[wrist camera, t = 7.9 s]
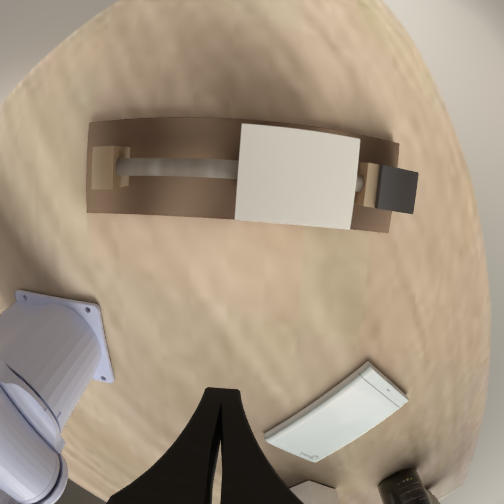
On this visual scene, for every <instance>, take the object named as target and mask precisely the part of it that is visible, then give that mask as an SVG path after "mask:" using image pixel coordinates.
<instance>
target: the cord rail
mask: <svg viewBox="0 0 504 504" xmlns="http://www.w3.org/2000/svg"><path fill="white" fill-rule="evenodd" d="M242 124H254V125H266V126H276V127H286V128H294V129H302V130H310V131H317V132H323V133H330V134H336V135H342V136H347V137H353V138H358V139H360V149H359V160H358V170H357V180H356V189H355V197H354V205H353V212H352V219H351V226H350V229H354V230H364V231H374V232H383V233H388V232H389V226H390V220H391V214H392V211H396V212H402V213H409V214H413V211H414V204H415V197H416V189H417V181H418V172H413V171H409V170H404V169H400V168H397V166H398V155H399V143H395V142H391V141H386V140H382V139H378V138H373V137H368V136H364V135H359V134H353V133H348V132H343V131H337V130H331V129H325V128H318V127H312V126H304V125H297V124H289V123H280V122H270V121H259V120H245V119H229V118H198V117H170V118H140V119H124V120H111V121H101V122H91V123H89V133H88V149H87V181H86V194H87V213H115V214H142V215H164V216H184V217H202V218H219V219H234V220H235V207H236V193H237V179H238V165H239V152H240V140H241V127H242Z"/></svg>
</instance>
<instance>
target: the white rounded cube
mask: <svg viewBox="0 0 504 504" xmlns="http://www.w3.org/2000/svg"><path fill="white" fill-rule="evenodd" d="M359 149H360V139H358V138H353V137H347V136H342V135H336V134H330V133H323V132H317V131H310V130H302V129H294V128H286V127H276V126H266V125H254V124H242V127H241V140H240V152H239V165H238V179H237V193H236V207H235V220H238V221H252V222H266V223H279V224H291V225H303V226H314V227H326V228H336V229H347V230H350V226H351V219H352V212H353V205H354V197H355V189H356V180H357V170H358V160H359Z"/></svg>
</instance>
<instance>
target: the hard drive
mask: <svg viewBox="0 0 504 504" xmlns="http://www.w3.org/2000/svg"><path fill="white" fill-rule="evenodd" d="M407 401H409V399H408V397H407V396H406V394H404V393H403V392H402V391H401V390H400V389H399V388H398V387H397V386H395V385H394V384H393V383H392V382H391V381H390V380H389V379H388V378H386V377H385V376H384V375H383V374H382V373H381V372H380V371H379V370H377V369H376V368H375V367H374V366H373V365H372V364H371V363H370V362H369V361H367V362H366V363H365V364H363V365H362V366H361V367H360V368H359V369H357V370H356V371H355V372H353V373H352V374H351V375H350V376H348V377H347V378H346V379H344V380H343V381H342V382H341V383H339V384H338V385H337V386H335V387H334V388H332V389H331V390H330V391H328V392H327V393H326V394H324V395H323V396H321V397H320V398H319V399H317V400H316V401H314V402H313V403H311V404H310V405H309V406H307V407H306V408H304V409H303V410H301V411H300V412H298V413H297V414H295V415H294V416H292V417H290V418H289V419H287V420H286V421H284V422H283V423H281V424H279V425H278V426H276V427H274V428H273V429H271V430H269V431H268V432H266V433H264V438H265V441H266V442H268V443H269V444H271V445H274V446H276V447H278V448H280V449H282V450H285V451H287V452H289V453H292V454H294V455H296V456H299V457H301V458H304V459H306V460H309V461H311V462H317V461H319V460H321V459H323V458H325V457H326V456H328V455H330V454H332V453H333V452H335V451H337V450H339V449H340V448H342V447H343V446H345V445H347V444H348V443H350V442H352V441H353V440H355V439H356V438H358V437H360V436H361V435H363V434H364V433H366V432H367V431H369V430H370V429H371V428H373V427H374V426H376V425H377V424H379V423H380V422H381V421H383V420H384V419H386V418H387V417H388V416H390V415H391V414H392V413H394V412H395V411H396V410H398V409H399V408H400V407H401V406H403V405H404V404H405V403H406V402H407Z"/></svg>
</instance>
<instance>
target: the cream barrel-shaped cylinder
mask: <svg viewBox="0 0 504 504" xmlns="http://www.w3.org/2000/svg"><path fill="white" fill-rule="evenodd" d="M426 491H427V494H428V496H429V498H430V500H431V502H432V504H440V503H439V502H438V500H437V498H436V497H435V496H434V495H432V493H431V492H430V491H428V490H426Z"/></svg>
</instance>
